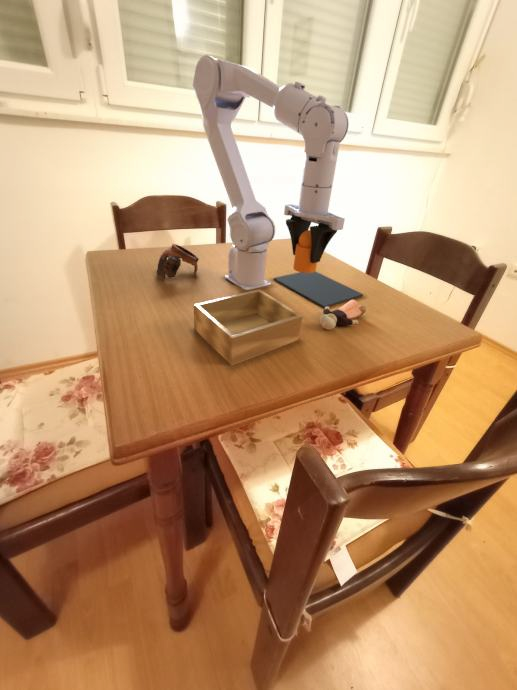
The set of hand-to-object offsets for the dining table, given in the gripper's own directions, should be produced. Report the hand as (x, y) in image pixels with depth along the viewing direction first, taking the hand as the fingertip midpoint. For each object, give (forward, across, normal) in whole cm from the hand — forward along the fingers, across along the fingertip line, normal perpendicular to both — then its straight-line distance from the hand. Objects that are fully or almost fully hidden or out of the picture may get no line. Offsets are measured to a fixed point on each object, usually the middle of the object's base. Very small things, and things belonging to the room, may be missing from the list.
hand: (305, 258), depth 65 cm
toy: (+2, 0, 0) cm, 2 cm away
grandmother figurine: (+9, +9, +8) cm, 15 cm away
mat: (+10, -4, +10) cm, 15 cm away
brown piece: (+10, -26, -18) cm, 33 cm away
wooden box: (+10, +6, -19) cm, 22 cm away
